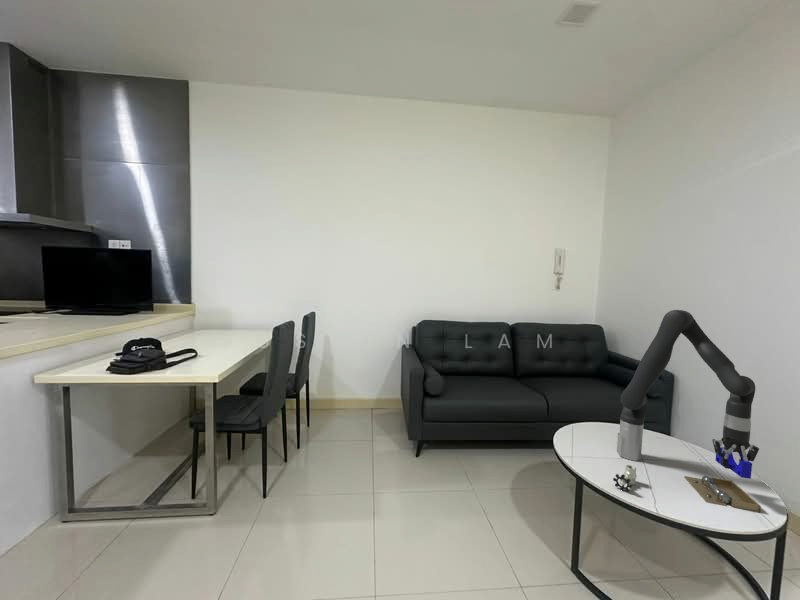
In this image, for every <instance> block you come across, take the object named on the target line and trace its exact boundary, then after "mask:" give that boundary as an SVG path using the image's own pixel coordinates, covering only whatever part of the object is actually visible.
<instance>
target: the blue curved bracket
mask: <svg viewBox="0 0 800 600" xmlns="http://www.w3.org/2000/svg"><path fill="white" fill-rule="evenodd" d="M720 447H721V451H723V450H722V449H723V447H724V446H723V447H722V446H720ZM714 460H715V462H717V463H718V464H719V465H720V466H722V464H721V456H719V455H718V454H716V453H715V459H714ZM723 468H724V469H728V470H731V471H732V472H733V473H734V474H736V475H737V476H738V477H740V478H743V479H750V480H751V479H752V472H753V471H752V469H753V462H752V461H742V460H740V461H739V460H738V464H737V462H736V461H735V458H734V454H733V453H732V454H731V455H729V457H728V467H727V468H725V467H723Z"/></svg>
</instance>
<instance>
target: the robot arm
mask: <svg viewBox="0 0 800 600" xmlns="http://www.w3.org/2000/svg"><path fill="white" fill-rule="evenodd" d="M660 322H661V323H660V325H659V327H658V330H657V332H656V335H655V336H654V338H653V339H652V341H651V342H650V344H649V346H648V348H647V349H646V350H645V352H644V354H643V356H642V358H641V360H640V361H639V364H638V365H637V368H636V370H635V373H634V375H633V377H632V379H631V381H630V382H629V384H628V385H627V386H626V387H625V389H624V390H623V391H622V393H621V395H620V403H621V404H622V411H621V414H620V420H619V422H620V423H619V432H618V433H617V441H616V452H617V454H618V455H619V457H620V458H624V459H627V460H630V461H638V462H639V461H641V459H642V451H643V450H642V449H643V448H642V447H643V438H644V437H643V435H644V426H645V425H644V423H645V418H646V412H647V401H648V398H647V394H648V391H649V390H650V388H651V387H652V385H654V383H656V381H657V380H658V379H659V378H660V376H662V374H663V372H664V371H665V369H666V368H667V366H668V364H669V362H670V361H671V357H672V354H673V349H674V346H675V343H676V341H677V339H678V338H679V337H680V335H683V336H684V337H685V338H686V339H687V340H688V341H689V342H690V343H691V345H693V347H694V349H695V351H696V352H697V353H698V355H699V357H700V358H701V359H702V360H703V361H704V363H705V364H706V365H707V366H708V367H709V368H710V369H711V370H712V371H713V372H714V374H715V375H716V377H717V378H718V380H719V381H720V383H721V384H722V385H723V387H724V388H725V389H726V391H728V392H729V397H728V399H727V401H726V403H725V404H726V405H725V414H724V417H723V427H722V437H721V439H715V438H713V439H711V440H712V445H713V449H714V452H715V455H716V454H718V455H719V456H721V464H722V465H721V464H720V465H721V467H723V468H724V467H725V468H724V469H727V467H728V457H729V455H731V454H733V453H737V454H738V456H739V460H738V462H739V461H740V460H742V461H749V462H754V461H755V459H756V457H757V456H758V453H759V451H760V448H759V447H758V446H757V445H755V444H751V443H750V439H751V428H752V427H751V426H752V422H751V420H752V419H751V417H752V404H753V402H754V398H755V393H756V384H755V382H754V380H753V379H752V378H751V377H748V376H746V375H740V374H739V372H738V370H737V369H736V367H735V364H734V363H733V362H732V361H731V359H730V358H729V357H728V356H727V355H726V354H725V353H724V352H723V351H722V350H721V349H720V348H719V347H718V346H717V345H716V344H715V343H714V342H713V341H712V340H711V339H710V338H709V337H708V335H706V333H705V332H704V331H703V329H702V328H701V326H700V325H699V324H698V322H697V321H696V319H695V318H694V316H693V314H691V313H690V312H688V311H687V310H684V309H683V310H682V309H673V310H670V311H668V312H667V313H665V314H664V316H663V318H662V320H661V321H660ZM722 445H723V449H722V450H723V451H721V447H722ZM746 450H748V451H746Z"/></svg>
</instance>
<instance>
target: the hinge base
mask: <svg viewBox="0 0 800 600" xmlns="http://www.w3.org/2000/svg"><path fill="white" fill-rule="evenodd" d="M683 478H684V479H685V480H686V482H688V484H690V486H691V487H692V488H693V489H694V491H696V493H698V495H699V496H700V497H701V498H702V499H703V500H704V502H705V503H710V504H714V505H715V504H716V505H719V506H720V505H721V506H726V505H727V506H730V507H731V508H736V509H740V510H745V511H751V512H755V513H761V509H762V506H761V505H760V504H759V503H758V502H757V501H756V500H754V499H753V498H752V497H751V495H749V494H748V493H747V492H746V491H744V490H743V489H742V488H741V487H740V486H738V484H737V483H735V482H734V481H733V480H730V479H726V478H720V477H712V476H709V475H704V476H702V478H700V477H699V478H698V477H693V476H687V475H684V477H683Z"/></svg>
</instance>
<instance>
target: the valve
mask: <svg viewBox="0 0 800 600" xmlns="http://www.w3.org/2000/svg"><path fill="white" fill-rule="evenodd" d="M637 476H638V475H637V467H635V466H634V465H629V464H627V465H625V471H624V474H621V475H619V474H618V473H617V474H615V477H613V478H612V481H614V482H616V483H615V484H614V487H616V488H618V487H619V489H620V491H621V490H622V491H621V492H624V490H625V492H628V493H629V492H630V489H632V488H633V485H632V484H634V485H635V484H636V480H637ZM629 483H630V484H629ZM625 485H626V486H625Z"/></svg>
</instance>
